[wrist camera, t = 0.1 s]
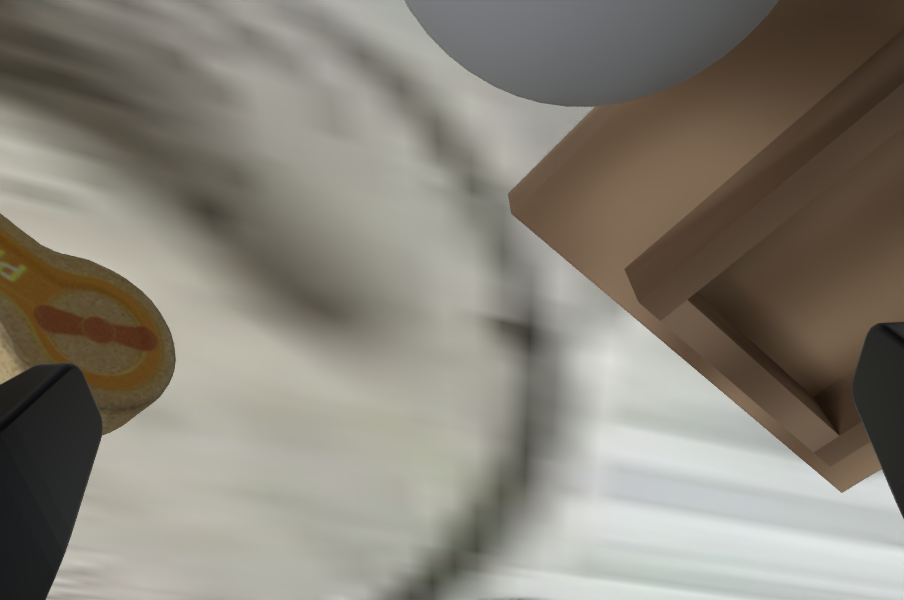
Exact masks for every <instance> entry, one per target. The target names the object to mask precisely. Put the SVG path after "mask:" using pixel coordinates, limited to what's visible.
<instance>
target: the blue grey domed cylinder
mask: <svg viewBox="0 0 904 600" xmlns="http://www.w3.org/2000/svg"><path fill="white" fill-rule="evenodd" d="M778 1H779V0H405V2H406V4H407V6H408V7H409V9H410V11H411V12H412V14H413V15H414V16H415V18H416V19H417V20H418V22H419V23H420V24H421V26H422V27H423V28H424V30H425V31H426V32H427V34H428V35H429V36H430V37H431V38H432V39H433V40H434V41H435V42H436V43H437V44H438V45H439V46H440V47H441V48H442V49H443V50H444V52H445V53H446V54H448V55H449V56H450V57H451V58H453V59H454V60H455V61H456V62H458V63H459V64H460V65H461V66H463V67H464V68H465V69H466V70H468V71H469V72H471V73H473V74H474V75H476V76H478V77H479V78H481V79H483V80H484V81H486V82H488V83H489V84H491V85H493V86H495V87H497V88H499V89H502V90H504V91H506V92H509V93H511V94H513V95H516V96H518V97H522V98H526V99H529V100H533V101H536V102H540V103H546V104H553V105H560V106H580V107H593V106H601V105H609V104H618V103H622V102H626V101H630V100H634V99H638V98H642V97H646V96H650V95H652V94H655V93H658V92H660V91H663V90H665V89H668V88H671V87H673V86H675V85H677V84H679V83H681V82H683V81H685V80H687V79H689V78H691V77H693V76H694V75H696V74H698V73H700V72H702V71H703V70H704V69H706V68H707V67H709V66H710V65H712V64H713V63H715V62H716V61H718V60H719V59H721V58H722V57H724V56H725V55H726V54H727V53H728V52H730V51H731V50H732V49H733V48H734V47H735V46H737V45H738V44H739V43H740V42H741V41H742V40H744V39H745V38H746V37H747V36H748V35H749V34H750V33H751V32H752V31H753V30H754V29H755V28H756V27H757V26H758V25H759V23H760V22H761V21H762V20H763V19H764V18H765V17H766V16H767V15H768V14H769V13H770V11H771V10H772V9H773V7H774V6H775V5H776V4H777V2H778Z"/></svg>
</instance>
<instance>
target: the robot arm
mask: <svg viewBox="0 0 904 600" xmlns="http://www.w3.org/2000/svg"><path fill="white" fill-rule="evenodd" d="M852 396H853V400H854V403H855V406H856V409H857V411H858V413H859V416H860V418H861V420H862V423H863V425H864V428H865V430H866V432H867V435H868V437H869V439H870V442H871V444H872V447H873V449H874V451H875V454H876V456H877V458H878V461H879V463H880V466H881V468H882V470H883V473H884V475H885V477H886V480H887V482H888V485H889V487H890V489H891V492H892V494H893V496H894V499H895V501H896V503H897V505H898V508H899V510H900V512H901V514H902V516H903V518H904V322H889V323H878V324H876V325H874V326H872V327H871V328H870V330H869V331H868V333H867V335H866V338H865V341H864V344H863V348H862V351H861V354H860V357H859V361H858V364H857V367H856V370H855V373H854V377H853V381H852ZM102 431H103V422H102V417H101V413H100V411H99V409H98V406H97V404H96V402H95V399H94V397H93V395H92V392H91V390H90V387H89V385H88V383H87V380H86V378H85V376H84V374H83V372H82V370H81V369H80V368H79V367H78V366H77V365H76V364H73V363H70V362H65V363H44V364H38V365H35V366H33V367H31V368H29V369H27V370H26V371H24V372H22V373H20V374H18V375H17V376H15V377H13V378H11V379H9V380H8V381H6V382H4V383H2V384H1V385H0V600H46V597H47V595H48V593H49V590H50V588H51V586H52V584H53V581H54V579H55V577H56V574H57V572H58V569H59V567H60V564H61V562H62V559H63V557H64V554H65V552H66V549H67V546H68V543H69V540H70V537H71V534H72V531H73V528H74V525H75V521H76V518H77V515H78V512H79V509H80V505H81V502H82V499H83V496H84V492H85V489H86V486H87V483H88V480H89V476H90V473H91V470H92V467H93V463H94V460H95V457H96V454H97V451H98V447H99V444H100V441H101V437H102Z"/></svg>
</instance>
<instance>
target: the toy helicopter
mask: <svg viewBox="0 0 904 600" xmlns="http://www.w3.org/2000/svg"><path fill="white" fill-rule="evenodd" d="M175 361H176V358H175V349H174V343H173V339H172V335H171V332H170V330H169V327H168V326H167V324H166V322H165V320H164V318H163V317H162V315H161V313H160V312H159V310H158V309H157V308H156V306H155V305H154V304H153V302H152V301H151V300H150V299H149V298H148V297H147V296H146V295H145V294H144V293H143V292H142V291H141V290H140V289H139V288H137V287H136V286H135V285H133V284H132V283H131V282H130V281H128V280H127V279H126V278H124V277H122V276H121V275H119V274H117V273H115V272H114V271H112V270H110V269H108V268H105V267H103V266H101V265H99V264H96V263H94V262H92V261H90V260H87V259H83V258H79V257H75V256H70V255H66V254H61V253H58V252H55V251H53V250H51V249H49V248H46V247H44V246H42V245H40V244H39V243H38V242H37V241H35V240H34V239H33V238H31V237H30V236H29V235H27V234H26V233H25V232H23V231H22V230H21V229H19V228H18V227H17V226H16V225H14V224H13V223H12V222H11V221H9V220H8V219H7V218H6V217H4V216H3V215H2V214H0V385H1V384H2V383H4V382H6V381H8V380H9V379H11V378H13V377H15V376H17V375H18V374H20V373H22V372H24V371H26V370H27V369H29V368H31V367H33V366H35V365H38V364H44V363H65V362H70V363H73V364H76V365H77V366H78V367H79V368H80V369H81V370H82V372H83V374H84V376H85V378H86V380H87V383H88V385H89V387H90V390H91V392H92V395H93V397H94V399H95V402H96V404H97V406H98V409H99V411H100V413H101V417H102V422H103V431H102V435H105V434H107V433H110V432H112V431H114V430H116V429H117V428H119V427H121V426H123V425H124V424H126V423H127V422H128V421H129V420H131V419H132V418H133V417H135V416H136V415H137V414H139V413H140V412H141V411H143V410H144V409H145V408H147V407H148V406H149V405H151V404H152V403H153V402H155V401H156V400H157V399H158V398H159V397H160V396H161V395H162V393H163V392H164V390H165V389H166V387H167V386H168V385H169V383H170V380H171V378H172V376H173V372H174V369H175Z"/></svg>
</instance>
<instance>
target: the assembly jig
mask: <svg viewBox="0 0 904 600" xmlns="http://www.w3.org/2000/svg"><path fill="white" fill-rule="evenodd" d="M508 196H509V202H510V208H511V214H512V215H514V216H515V217H516V218H517V219H518V220H519V221H521V222H522V223H523V224H524V225H525V226H527V227H528V228H529V229H530V230H531V231H532V232H534V233H535V234H536V235H537V236H538V237H540V238H541V239H542V240H543V241H544V242H545V243H547V244H548V245H549V246H550V247H551V248H553V249H554V250H555V251H556V252H557V253H559V254H560V255H561V256H562V257H563V258H564V259H566V260H567V261H568V262H569V263H570V264H572V265H573V266H574V267H575V268H576V269H577V270H579V271H580V272H581V273H582V274H583V275H585V276H586V277H587V278H588V279H589V280H590V281H592V282H593V283H594V284H595V285H596V286H598V287H599V288H600V289H601V290H602V291H603V292H605V293H606V294H607V295H608V296H609V297H611V298H612V299H613V300H614V301H615V302H617V303H618V304H619V305H620V306H621V307H622V308H624V309H625V310H626V311H627V312H628V313H630V314H631V315H632V316H633V317H634V318H635V319H637V320H638V321H639V322H640V323H641V324H643V325H644V326H645V327H646V328H647V329H648V330H650V331H651V332H652V333H653V334H654V335H656V336H657V337H658V338H659V339H660V340H661V341H663V342H664V343H665V344H666V345H667V346H669V347H670V348H671V349H672V350H673V351H674V352H676V353H677V354H678V355H679V356H680V357H682V358H683V359H684V360H685V361H686V362H688V363H689V364H690V365H691V366H692V367H693V368H695V369H696V370H697V371H698V372H699V373H701V374H702V375H703V376H704V377H705V378H706V379H708V380H709V381H710V382H711V383H712V384H714V385H715V386H716V387H717V388H718V389H719V390H721V391H722V392H723V393H724V394H725V395H727V396H728V397H729V398H730V399H731V400H732V401H734V402H735V403H736V404H737V405H738V406H740V407H741V408H742V409H743V410H744V411H745V412H747V413H748V414H749V415H750V416H751V417H753V418H754V419H755V420H756V421H757V422H759V423H760V424H761V425H762V426H763V427H764V428H766V429H767V430H768V431H769V432H770V433H772V434H773V435H774V436H775V437H776V438H777V439H779V440H780V441H781V442H782V443H783V444H785V445H786V446H787V447H788V448H789V449H790V450H792V451H793V452H794V453H795V454H796V455H798V456H799V457H800V458H801V459H802V460H803V461H805V462H806V463H807V464H808V465H809V466H811V467H812V468H813V469H814V470H815V471H817V472H818V473H819V474H820V475H821V476H822V477H824V478H825V479H826V480H827V481H828V482H830V483H831V484H832V485H833V486H834V487H835V488H837V489H838V490H839V491H840V492H841V493H842V492H844V491H846V490H847V489H849V488H851V487H852V486H854V485H856V484H857V483H859V482H861V481H862V480H864V479H866V478H867V477H869V476H871V475H872V474H874V473H876V472H877V471H879V470H881V469H882V468H881V466H880V463H879V461H878V458H877V456H876V454H875V451H874V449H873V447H872V444H871V442H870V439H869V437H868V435H867V432H866V430H865V428H864V425H863V423H862V420H861V418H860V416H859V413H858V411H857V409H856V406H855V403H854V400H853V396H852V381H853V377H854V373H855V370H856V367H857V364H858V361H859V357H860V354H861V351H862V348H863V344H864V341H865V338H866V335H867V333H868V331H869V330H870V328H871V327H872V326H874V325H876V324H878V323H889V322H904V0H779V1H778V2H777V4H776V5H775V6H774V7H773V9H772V10H771V11H770V13H769V14H768V15H767V16H766V17H765V18H764V19H763V20H762V21H761V22H760V23H759V25H758V26H757V27H756V28H755V29H754V30H753V31H752V32H751V33H750V34H749V35H748V36H747V37H746V38H745V39H744V40H742V41H741V42H740V43H739V44H738V45H737V46H735V47H734V48H733V49H732V50H731V51H730V52H728V53H727V54H726V55H725V56H724V57H722V58H721V59H719V60H718V61H716V62H715V63H713V64H712V65H710V66H709V67H707V68H706V69H704V70H703V71H702V72H700V73H698V74H696V75H694V76H693V77H691V78H689V79H687V80H685V81H683V82H681V83H679V84H677V85H675V86H673V87H671V88H668V89H665V90H663V91H660V92H658V93H655V94H652V95H650V96H646V97H642V98H638V99H634V100H630V101H626V102H622V103H618V104H609V105H601V106H596V107H595V108H594V109H593V110H592V111H591V112H590V113H589V114H588V115H587V116H586V117H585V118H584V119H583V120H582V121H581V122H580V123H579V124H578V125H577V126H576V127H575V128H574V129H573V130H572V131H571V132H570V133H569V134H568V135H567V136H566V137H565V138H564V139H563V140H562V141H561V142H560V143H559V144H558V145H557V146H556V147H555V148H554V149H553V150H552V151H551V152H550V153H549V154H548V155H547V156H546V157H545V158H544V159H543V160H542V161H541V162H540V163H539V164H538V165H537V166H536V167H535V168H534V169H533V170H532V171H531V172H530V173H529V174H528V175H527V176H526V177H525V178H524V179H523V180H522V181H521V182H520V183H519V184H518V185H517V186H516V187H515V188H514V189H513V190H512V191H511V192H510V193H509V194H508Z"/></svg>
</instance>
